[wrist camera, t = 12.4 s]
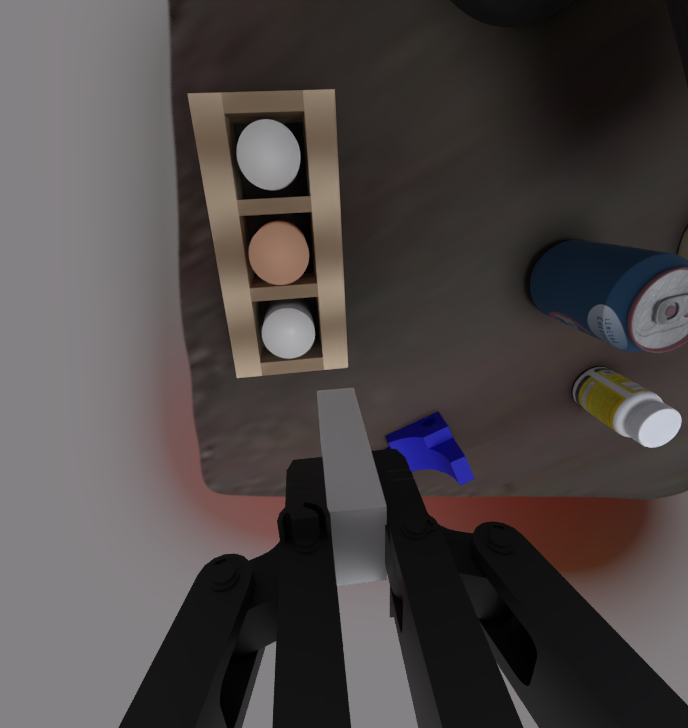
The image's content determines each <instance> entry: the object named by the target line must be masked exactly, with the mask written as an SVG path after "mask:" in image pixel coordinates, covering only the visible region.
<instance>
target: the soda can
mask: <svg viewBox="0 0 688 728" xmlns="http://www.w3.org/2000/svg"><path fill="white" fill-rule="evenodd" d="M530 292H531V297H532V299H533V302H534V304H535V305H536V307H537V308H538V309H539V310H540V311H541V312H543V313H544V314H546V315H548V316H550V317H552V318H555V319H557V320H559V321H561V322H563V323H565V324H567V325H570V326H572V327H574V328H576V329H578V330H580V331H582V332H585V333H587V334H589V335H591V336H593V337H595V338H597V339H600V340H602V341H604V342H606V343H608V344H610V345H612V346H615V347H617V348H619V349H621V350H624V351H629V352H642V351H647V352H652V353H662V352H667V351H670V350H673V349H675V348H678V347H679V346H681V345H683V344H685V343H686V342H687V341H688V260H687V259H685V258H683V257H681V256H679V255H675V254H670V253H664V252H657V251H651V250H645V249H639V248H632V247H626V246H620V245H613V244H607V243H601V242H595V241H588V240H582V239H573V240H568V241H565V242H562V243H560V244H558V245H556V246H554V247H553V248H551V249H550V250H549V251H547V252H546V253H545V254H544V255H543V256H542V257H541V258H540V259H539V260H538V262H537V263H536V265H535V267H534V268H533V271H532V274H531V278H530Z"/></svg>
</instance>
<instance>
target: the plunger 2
mask: <svg viewBox="0 0 688 728" xmlns="http://www.w3.org/2000/svg"><path fill="white" fill-rule="evenodd" d="M262 339H263V342H264V344H265V346H266V347H267V349H268V350H269V351H270V352H271V353H273V354H274V355H276V356H278V357H281V358H287V359H290V358H296V357H299V356H301V355H303V354H305V353H306V352H307V351H308V350H309V349H310V348H311V346H312V344H313V342H314V339H315V329H314V323H313V317H312V312H311V308H310V306H309V305H308V303H307V302H306V301H305V300H304V299H303V298H294V299H281V300H272V301H271V302H270V303H269V304H268V306H267V309H266V313H265V318H264V323H263V327H262Z"/></svg>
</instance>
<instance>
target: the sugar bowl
mask: <svg viewBox="0 0 688 728" xmlns="http://www.w3.org/2000/svg"><path fill="white" fill-rule="evenodd" d="M678 255H679V256H681V257H683V258H685V259H687V260H688V227H687V229H686V231H685V233H684V235H683V238H682V240H681V243H680V247H679V251H678Z"/></svg>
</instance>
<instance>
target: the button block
mask: <svg viewBox="0 0 688 728" xmlns="http://www.w3.org/2000/svg"><path fill="white" fill-rule="evenodd" d="M187 94H188V100H189V106H190V111H191V117H192V123H193V128H194V134H195V140H196V146H197V151H198V157H199V163H200V169H201V174H202V180H203V186H204V192H205V197H206V203H207V209H208V214H209V220H210V226H211V232H212V237H213V243H214V249H215V255H216V260H217V266H218V272H219V278H220V283H221V289H222V295H223V300H224V306H225V312H226V318H227V323H228V329H229V335H230V341H231V346H232V352H233V358H234V364H235V369H236V375H237V378H243V377H254V376H264V375H275V374H285V373H296V372H306V371H317V370H327V369H338V368H348V355H347V334H346V314H345V293H344V273H343V252H342V231H341V211H340V190H339V170H338V149H337V128H336V108H335V89H326V90H291V91H256V92H221V93H187ZM262 119H270V120H274V121H277V122H279V123H302V124H303V137H304V149H305V162H306V175H307V188H308V196H298V197H279V198H261V199H244V197H243V189H242V182H241V175H240V168H239V164H238V160H237V146H236V139H235V132H234V125H247V124H251V123H253V122H255V121H257V120H262ZM301 212H309V213H310V226H311V239H312V252H313V264H314V273H303V275H302V276H301V277H300V278H299V279H297V280H296V281H294V282H292V283H290V284H286V285H275V284H271V283H268V282H266V281H264V280H263V279H261V278H260V277H255V276H254V270H253V268H252V266H251V264H250V260H249V245H250V240H249V233H248V225H247V218H246V216H249V215H266V214H283V213H301ZM307 297H316V303H317V316H318V328H319V339H314V342H313V344H312V346H311V348H310V349H309V350H308V351H307V352H306V353H305V354H303V355H301V356H299V357H296V358H290V359H287V358H281V357H278V356H276V355H274V354H273V353H271V352H270V351H269V350H268V349H267V347H266V346H265V344H264V342H263V339H262V326H261V319H260V312H259V305H258V301H268V300H281V299H294V298H307Z"/></svg>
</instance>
